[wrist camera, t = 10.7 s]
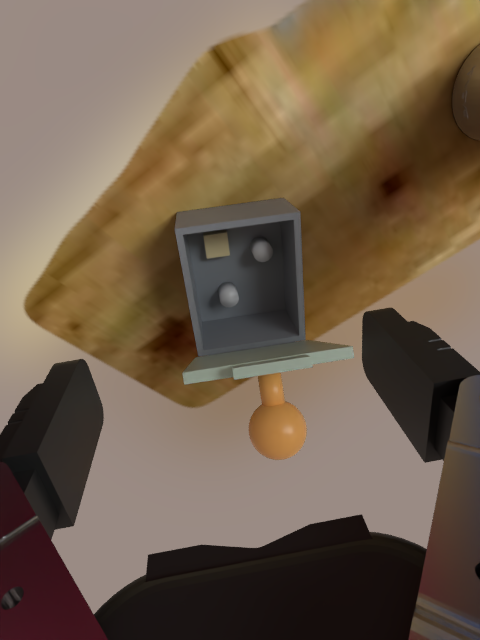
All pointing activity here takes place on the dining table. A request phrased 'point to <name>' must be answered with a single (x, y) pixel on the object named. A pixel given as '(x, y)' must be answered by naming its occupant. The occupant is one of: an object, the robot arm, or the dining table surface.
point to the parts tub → (243, 275)
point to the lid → (269, 388)
